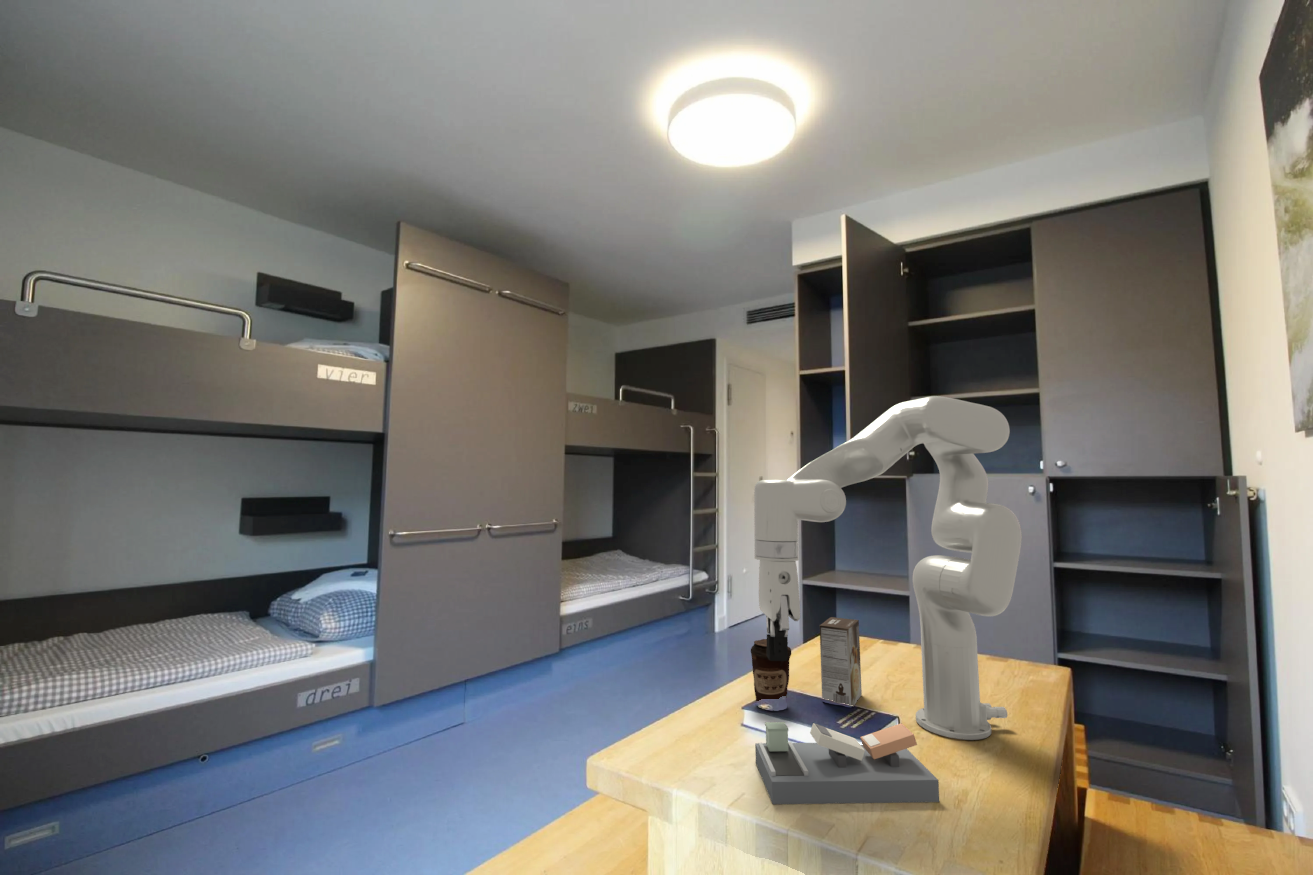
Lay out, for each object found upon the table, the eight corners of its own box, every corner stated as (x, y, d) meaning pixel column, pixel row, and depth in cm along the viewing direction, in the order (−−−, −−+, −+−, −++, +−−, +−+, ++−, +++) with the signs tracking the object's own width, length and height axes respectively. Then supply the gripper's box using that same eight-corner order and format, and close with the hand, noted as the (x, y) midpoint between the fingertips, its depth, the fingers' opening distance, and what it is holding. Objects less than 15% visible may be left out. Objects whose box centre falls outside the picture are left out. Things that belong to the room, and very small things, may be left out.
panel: (900, 760, 91) (899, 731, 91) (939, 801, 79) (937, 768, 79) (755, 762, 90) (755, 733, 90) (772, 803, 78) (771, 769, 79)
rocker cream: (851, 748, 87) (855, 737, 87) (861, 760, 83) (865, 749, 83) (810, 732, 87) (813, 721, 87) (817, 744, 83) (821, 733, 83)
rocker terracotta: (904, 733, 87) (901, 722, 87) (917, 744, 83) (913, 733, 83) (863, 746, 87) (859, 735, 87) (873, 759, 83) (870, 747, 83)
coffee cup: (793, 717, 108) (792, 649, 109) (750, 713, 110) (749, 646, 111) (791, 700, 116) (790, 637, 118) (752, 697, 118) (751, 635, 119)
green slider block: (785, 744, 89) (784, 722, 89) (788, 751, 87) (788, 728, 87) (765, 744, 89) (765, 722, 89) (768, 751, 87) (768, 728, 87)
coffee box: (832, 689, 123) (830, 615, 124) (862, 695, 120) (859, 619, 121) (821, 702, 115) (818, 624, 117) (852, 709, 112) (850, 628, 113)
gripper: (811, 555, 89) (813, 673, 87) (785, 546, 103) (786, 647, 102) (765, 555, 88) (766, 673, 86) (746, 546, 103) (746, 647, 101)
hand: (777, 659), depth 94 cm, fingers closed
